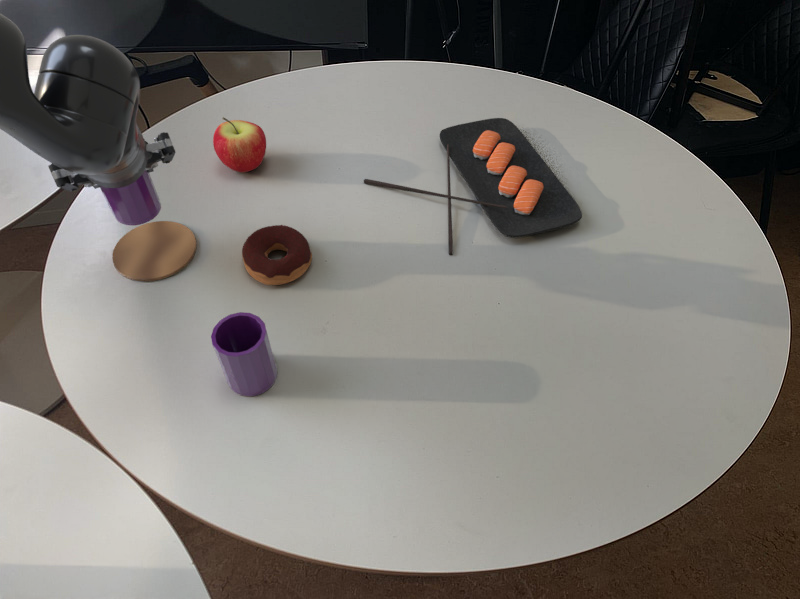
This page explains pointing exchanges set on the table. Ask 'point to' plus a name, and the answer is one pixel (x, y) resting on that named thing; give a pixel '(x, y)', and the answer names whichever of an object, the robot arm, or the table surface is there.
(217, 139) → the apple
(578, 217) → the sushi plate
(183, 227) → the coaster
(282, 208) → the table surface
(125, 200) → the cup
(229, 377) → the cup
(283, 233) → the donut
